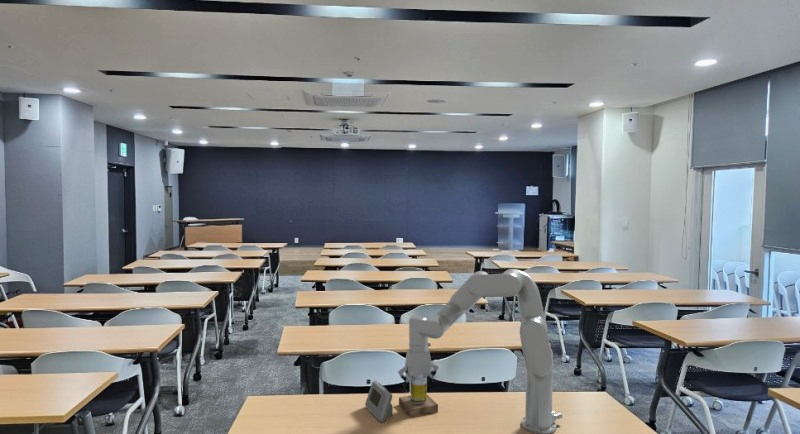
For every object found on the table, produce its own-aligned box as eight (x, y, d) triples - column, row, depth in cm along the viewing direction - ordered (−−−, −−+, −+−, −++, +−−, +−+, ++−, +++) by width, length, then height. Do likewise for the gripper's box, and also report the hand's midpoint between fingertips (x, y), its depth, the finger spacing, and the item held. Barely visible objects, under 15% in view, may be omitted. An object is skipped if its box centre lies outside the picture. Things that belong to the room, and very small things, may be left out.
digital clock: (364, 406, 189) (364, 380, 189) (385, 403, 191) (385, 378, 191) (372, 424, 173) (372, 396, 173) (395, 421, 176) (395, 394, 175)
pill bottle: (425, 405, 183) (425, 376, 183) (409, 403, 184) (409, 375, 184) (427, 398, 189) (427, 370, 189) (412, 397, 191) (412, 369, 190)
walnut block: (425, 400, 195) (425, 393, 195) (437, 412, 184) (438, 404, 183) (398, 404, 190) (399, 397, 190) (410, 417, 179) (410, 409, 179)
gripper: (433, 342, 193) (433, 382, 193) (395, 347, 186) (395, 388, 187) (441, 347, 186) (441, 389, 186) (402, 352, 180) (402, 396, 180)
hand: (418, 389), depth 187 cm, fingers open, 9 cm apart
